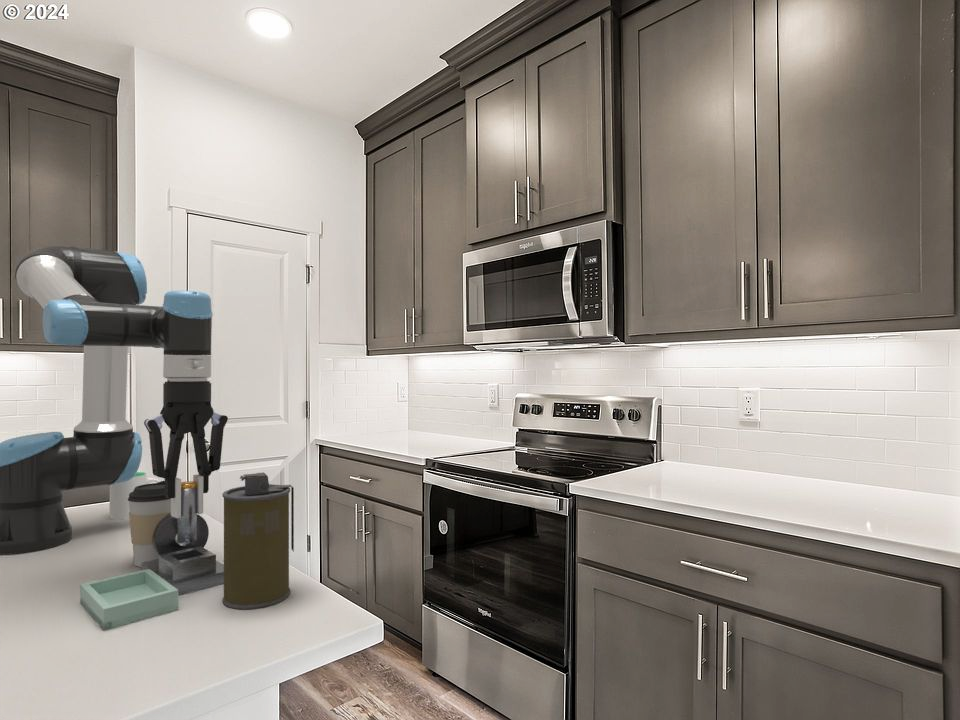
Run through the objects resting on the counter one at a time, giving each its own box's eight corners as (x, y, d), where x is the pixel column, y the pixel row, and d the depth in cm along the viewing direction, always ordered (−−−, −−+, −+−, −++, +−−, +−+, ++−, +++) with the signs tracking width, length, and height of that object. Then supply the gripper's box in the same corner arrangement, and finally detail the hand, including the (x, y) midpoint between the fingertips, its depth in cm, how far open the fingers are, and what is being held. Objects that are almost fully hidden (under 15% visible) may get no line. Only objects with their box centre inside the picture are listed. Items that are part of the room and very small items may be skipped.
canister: (224, 614, 89) (224, 482, 89) (220, 591, 98) (220, 472, 98) (298, 601, 94) (298, 476, 94) (287, 580, 103) (287, 466, 103)
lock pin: (174, 540, 102) (174, 482, 102) (192, 536, 104) (192, 480, 104) (180, 543, 100) (181, 485, 100) (199, 540, 102) (199, 482, 102)
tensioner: (141, 573, 107) (141, 513, 107) (198, 560, 114) (198, 504, 114) (171, 597, 96) (171, 529, 96) (232, 581, 103) (232, 518, 103)
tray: (80, 603, 93) (80, 584, 94) (149, 586, 101) (149, 568, 101) (103, 630, 84) (103, 609, 84) (178, 609, 91) (178, 590, 91)
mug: (157, 507, 158) (157, 469, 158) (167, 512, 152) (167, 472, 153) (106, 515, 150) (106, 475, 150) (114, 521, 144) (114, 479, 144)
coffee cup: (157, 570, 109) (157, 489, 109) (115, 567, 110) (116, 487, 111) (190, 555, 117) (190, 480, 118) (151, 552, 119) (151, 478, 120)
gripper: (143, 381, 94) (142, 527, 94) (242, 379, 105) (241, 510, 105) (129, 380, 99) (128, 519, 99) (225, 378, 111) (224, 503, 110)
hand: (187, 514), depth 102 cm, fingers closed on lock pin, 3 cm apart
